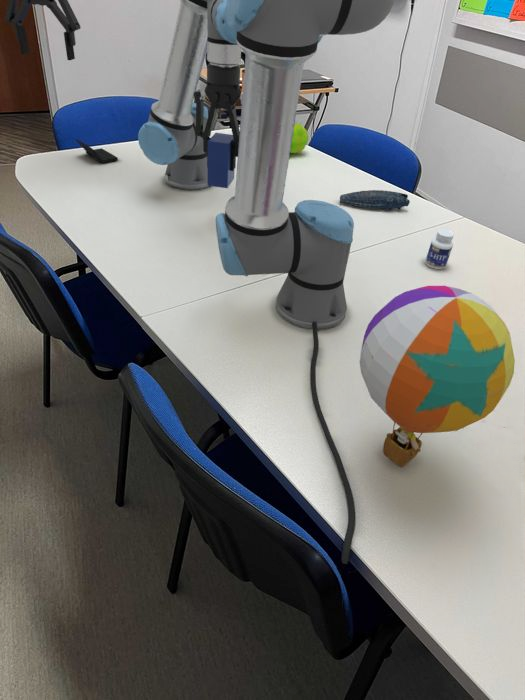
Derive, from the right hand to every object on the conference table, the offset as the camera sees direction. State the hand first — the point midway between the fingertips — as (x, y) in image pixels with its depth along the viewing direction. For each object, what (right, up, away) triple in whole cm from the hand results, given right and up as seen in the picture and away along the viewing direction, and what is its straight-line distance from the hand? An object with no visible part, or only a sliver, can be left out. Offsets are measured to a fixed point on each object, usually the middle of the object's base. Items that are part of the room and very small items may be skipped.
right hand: (221, 167), depth 131 cm
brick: (0, -3, +2) cm, 4 cm away
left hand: (-49, +35, +12) cm, 61 cm away
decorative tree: (+12, +27, +61) cm, 68 cm away
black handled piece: (-45, +18, +44) cm, 66 cm away
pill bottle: (+55, -24, +3) cm, 60 cm away
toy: (+32, -63, -49) cm, 86 cm away
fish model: (+44, -2, +29) cm, 53 cm away
